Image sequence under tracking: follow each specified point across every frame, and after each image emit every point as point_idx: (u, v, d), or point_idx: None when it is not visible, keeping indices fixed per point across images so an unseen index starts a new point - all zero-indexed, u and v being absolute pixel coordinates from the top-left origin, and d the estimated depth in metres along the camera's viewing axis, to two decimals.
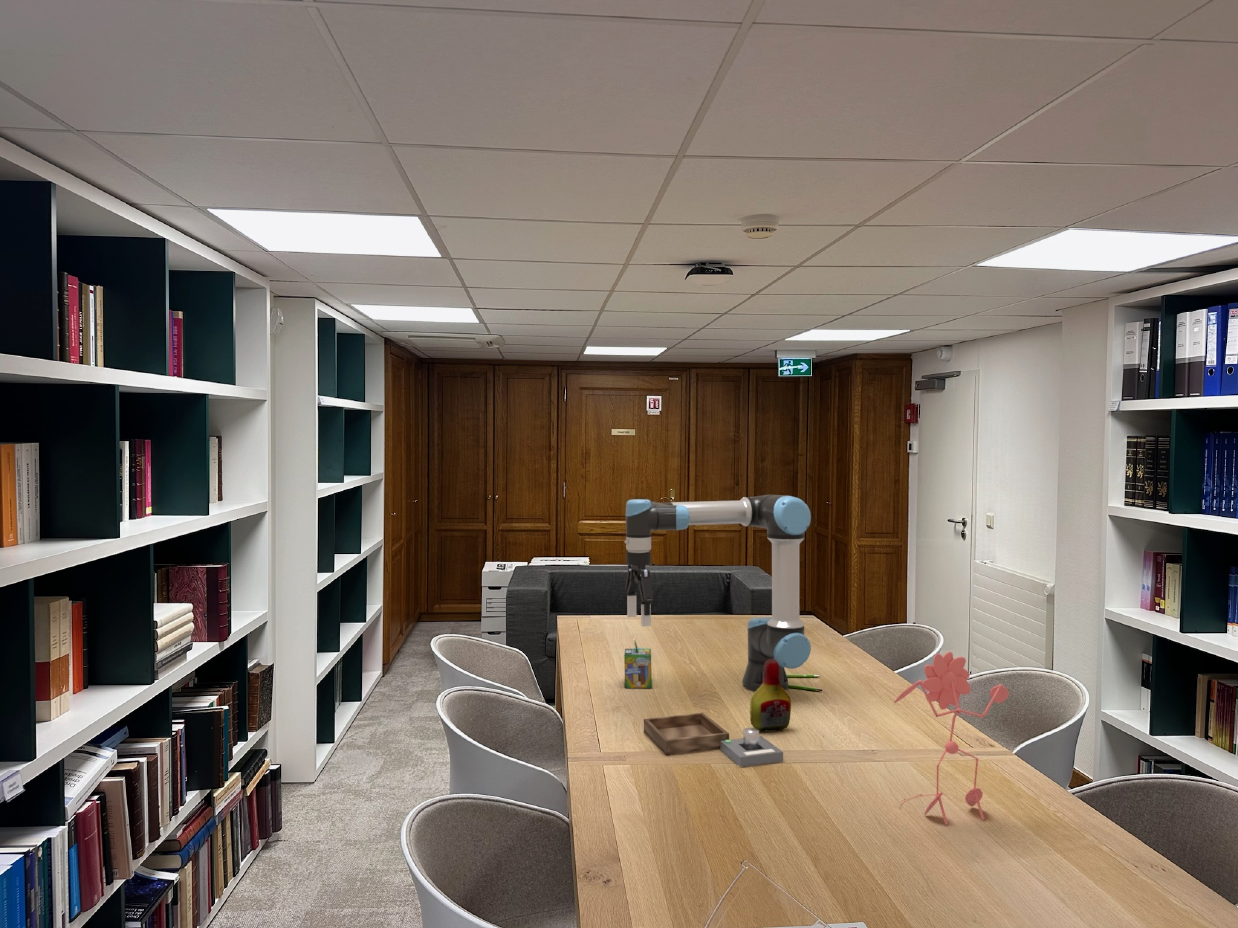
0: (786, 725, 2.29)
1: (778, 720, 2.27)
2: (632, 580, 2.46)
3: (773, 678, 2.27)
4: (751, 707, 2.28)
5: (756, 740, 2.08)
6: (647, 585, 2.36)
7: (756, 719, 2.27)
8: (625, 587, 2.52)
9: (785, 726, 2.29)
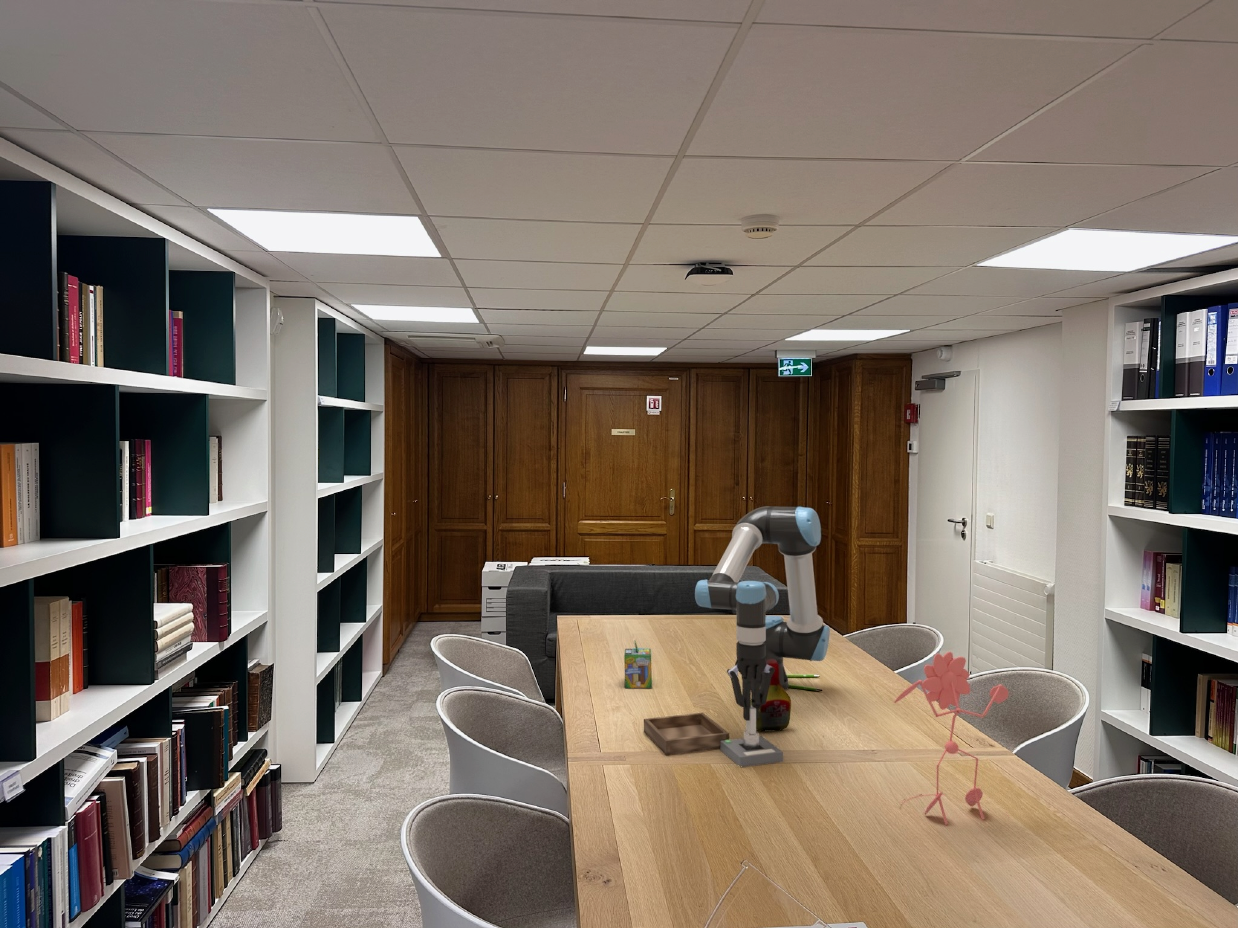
0: (786, 725, 2.29)
1: (778, 720, 2.27)
2: (751, 677, 2.11)
3: (773, 678, 2.27)
4: None
5: (756, 743, 2.08)
6: (734, 687, 2.08)
7: None
8: None
9: (785, 726, 2.29)
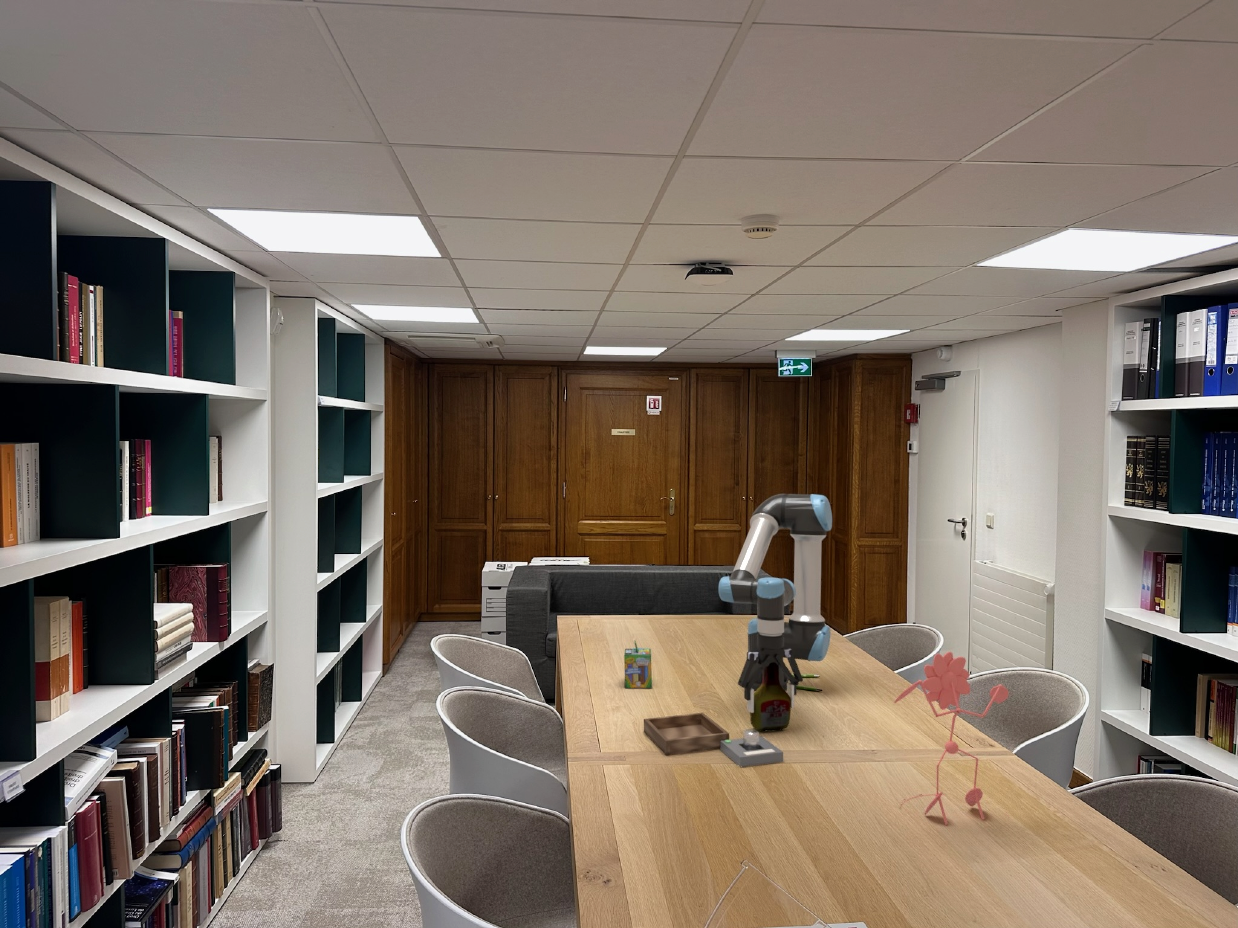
0: (786, 725, 2.29)
1: (777, 720, 2.27)
2: None
3: (772, 678, 2.27)
4: None
5: (756, 742, 2.08)
6: (745, 668, 2.27)
7: (755, 719, 2.27)
8: (796, 674, 2.33)
9: (785, 726, 2.29)
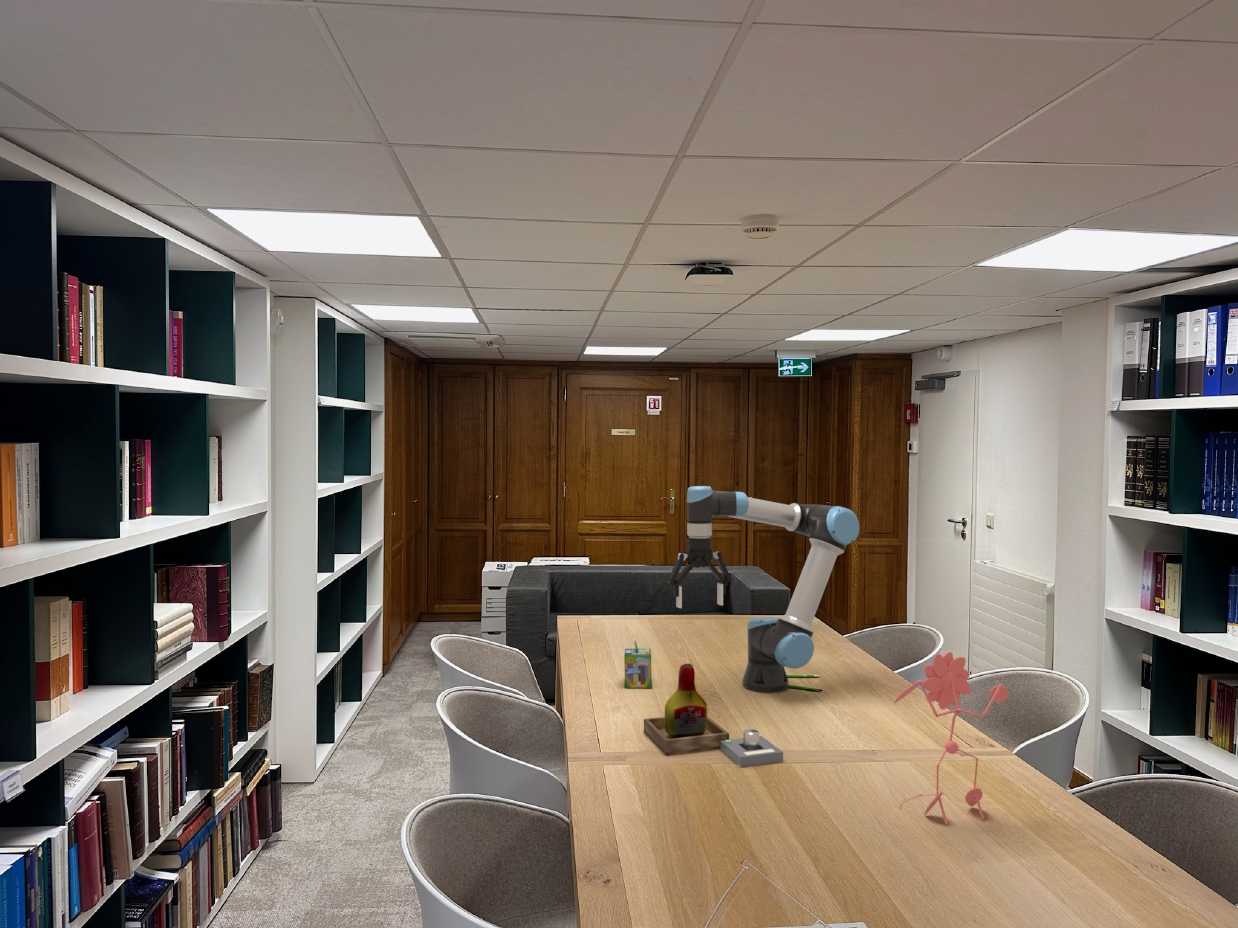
0: (702, 732, 2.21)
1: (692, 727, 2.19)
2: (707, 566, 2.49)
3: (687, 683, 2.20)
4: (665, 713, 2.20)
5: (756, 742, 2.08)
6: (675, 567, 2.45)
7: (669, 726, 2.20)
8: None
9: (700, 733, 2.21)
